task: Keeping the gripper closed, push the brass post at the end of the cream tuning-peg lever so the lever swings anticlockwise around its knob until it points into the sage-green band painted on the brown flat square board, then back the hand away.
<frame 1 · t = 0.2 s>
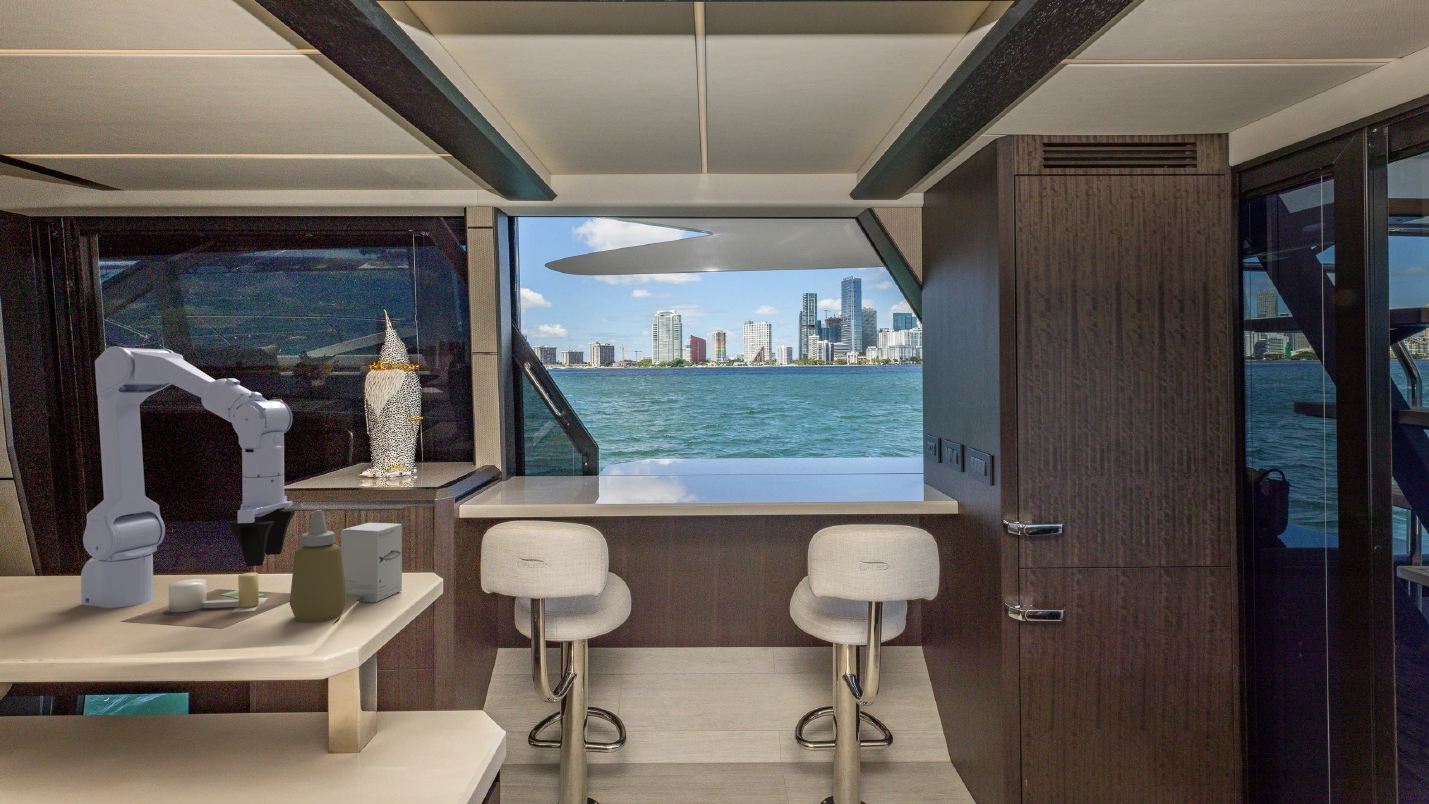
hand: (264, 559, 117), 10 cm above the table, tool pointing down, fingers open, 7 cm apart
squeeze bottle: (319, 624, 116), on the table
brown flat square board: (219, 614, 120), on the table
supplement box: (372, 597, 131), on the table
peg lever: (214, 591, 119), point 4 cm above the table, hinge at 20.0°
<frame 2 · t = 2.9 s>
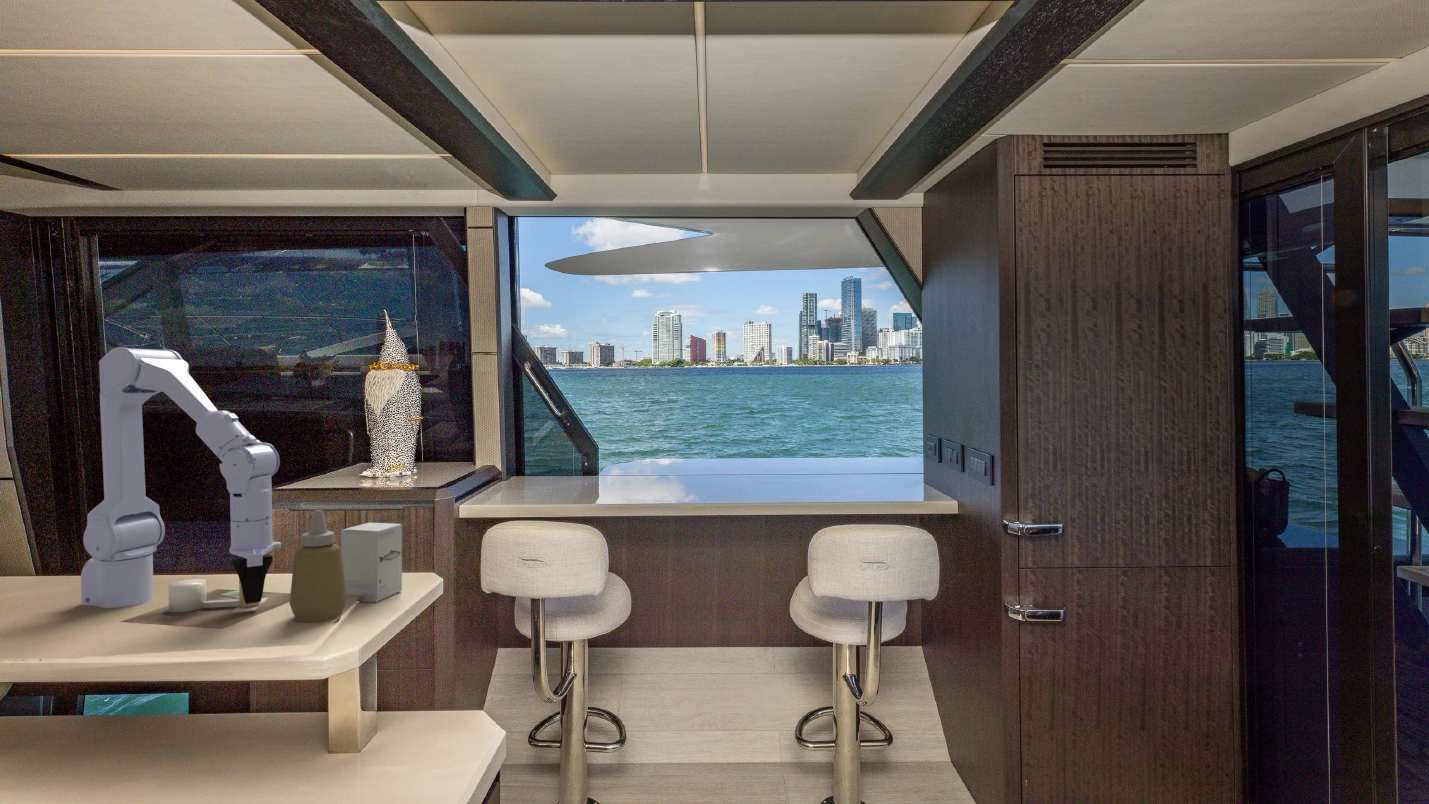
hand: (252, 601, 119), 2 cm above the table, tool pointing down, fingers closed, pressing on peg lever
peg lever: (214, 591, 119), point 4 cm above the table, hinge at 21.6°, touching gripper
everything else where it was.
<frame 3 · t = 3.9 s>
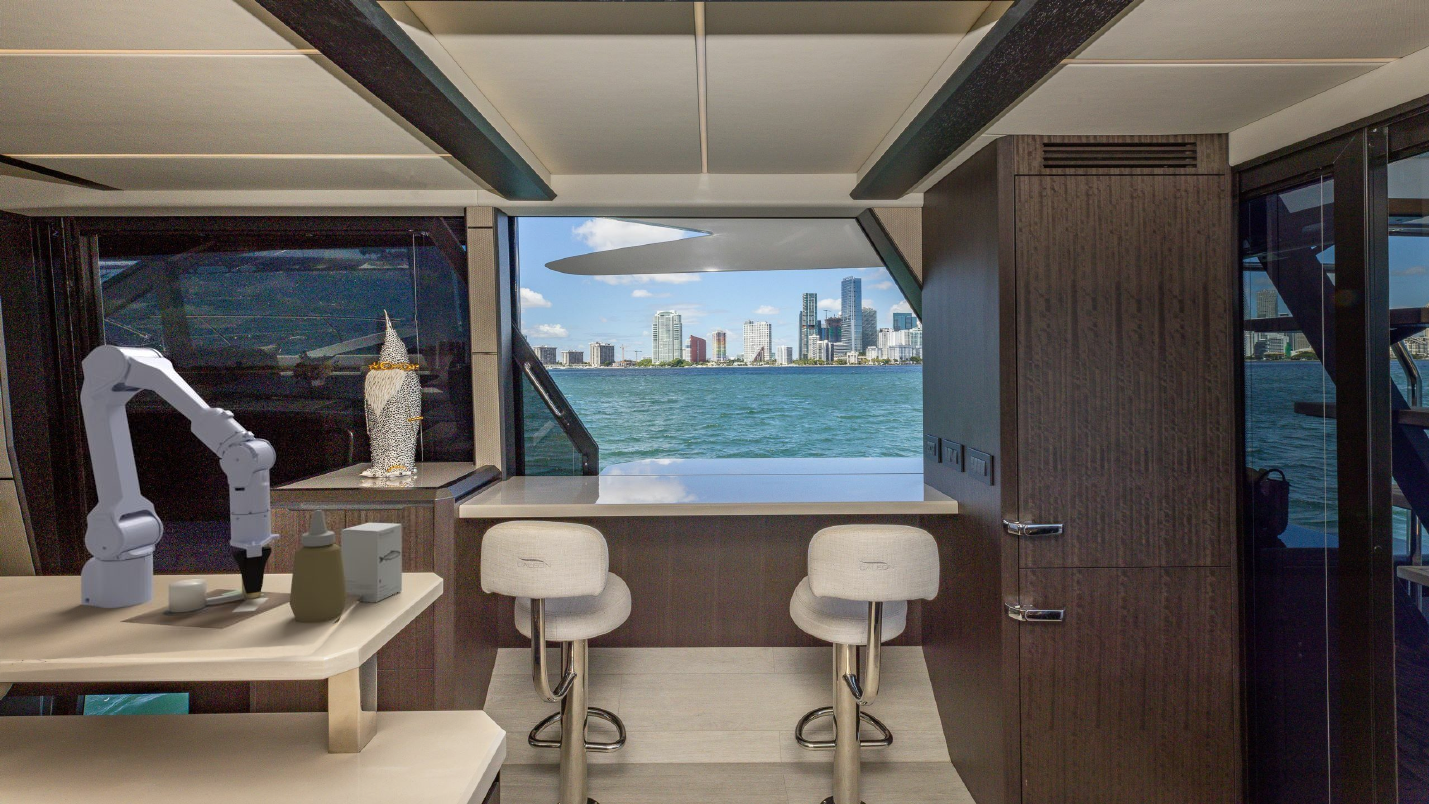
hand: (253, 591, 123), 3 cm above the table, tool pointing down, fingers closed, pressing on peg lever
peg lever: (216, 587, 121), point 4 cm above the table, hinge at 55.5°, touching gripper
everything else where it was.
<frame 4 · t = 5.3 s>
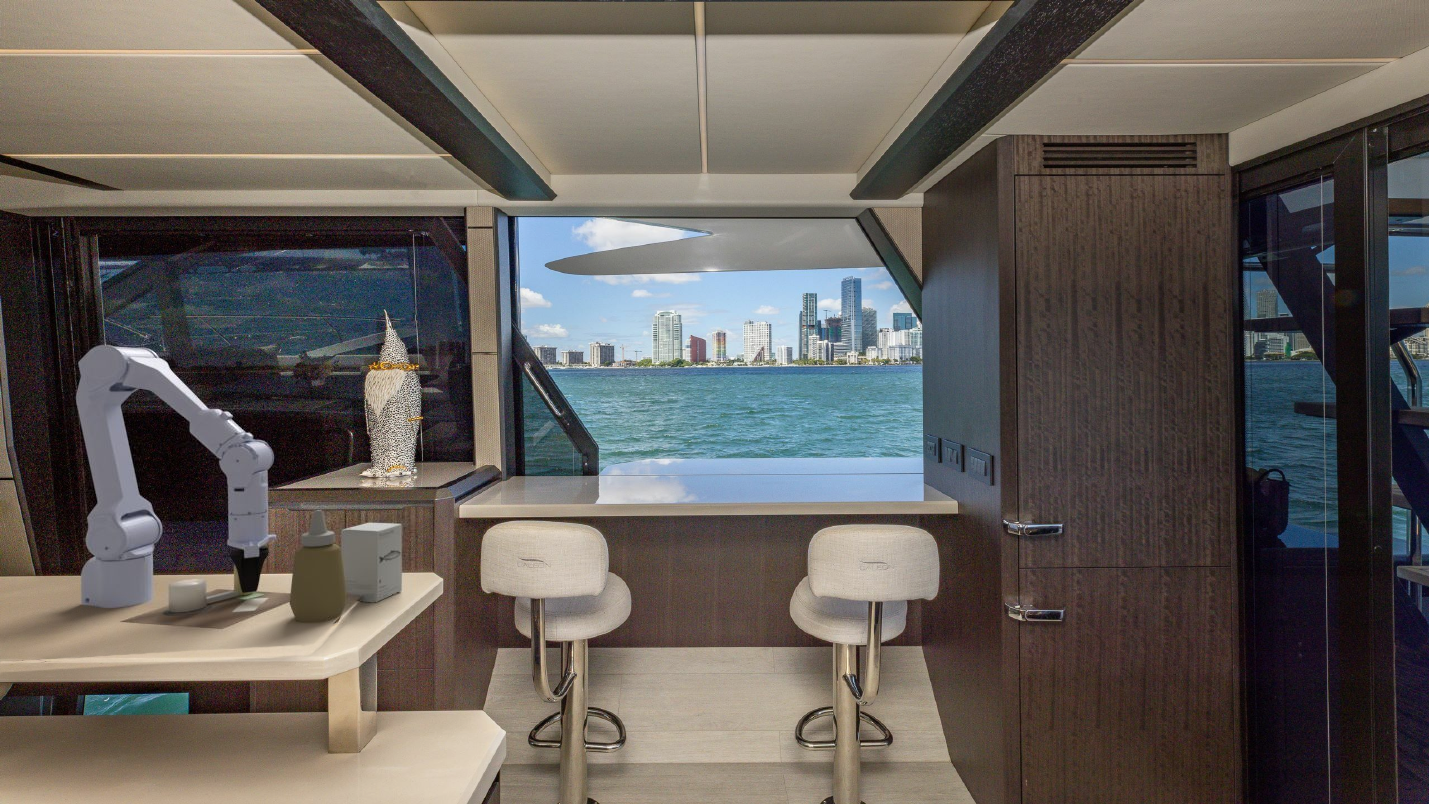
hand: (249, 591, 125), 2 cm above the table, tool pointing down, fingers closed
peg lever: (213, 586, 122), point 4 cm above the table, hinge at 74.3°, touching gripper
everything else where it was.
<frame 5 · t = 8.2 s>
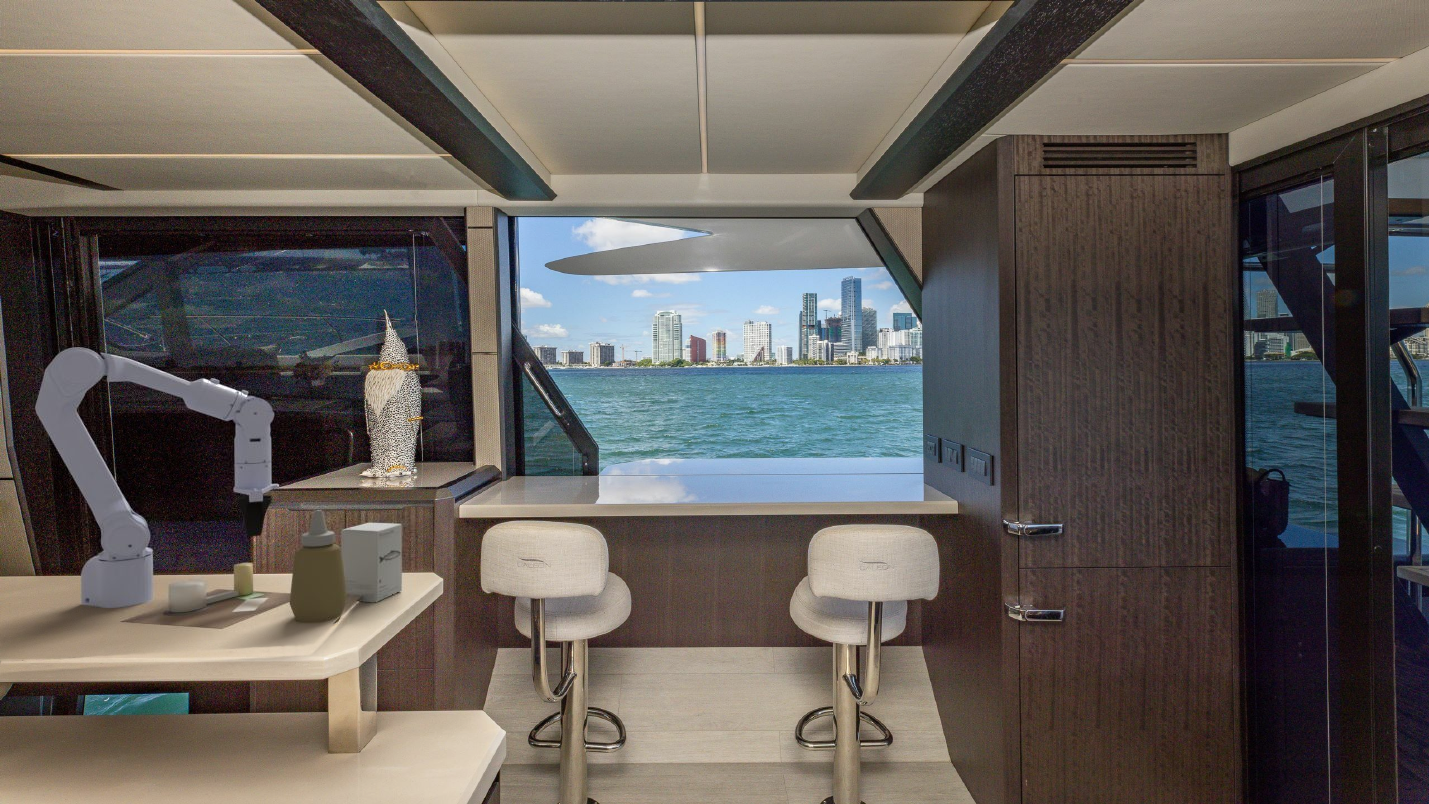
hand: (253, 535, 135), 10 cm above the table, tool pointing down, fingers closed
peg lever: (213, 586, 122), point 4 cm above the table, hinge at 74.4°
everything else where it was.
at the end: peg lever at +74° (first picture: +20°) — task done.
